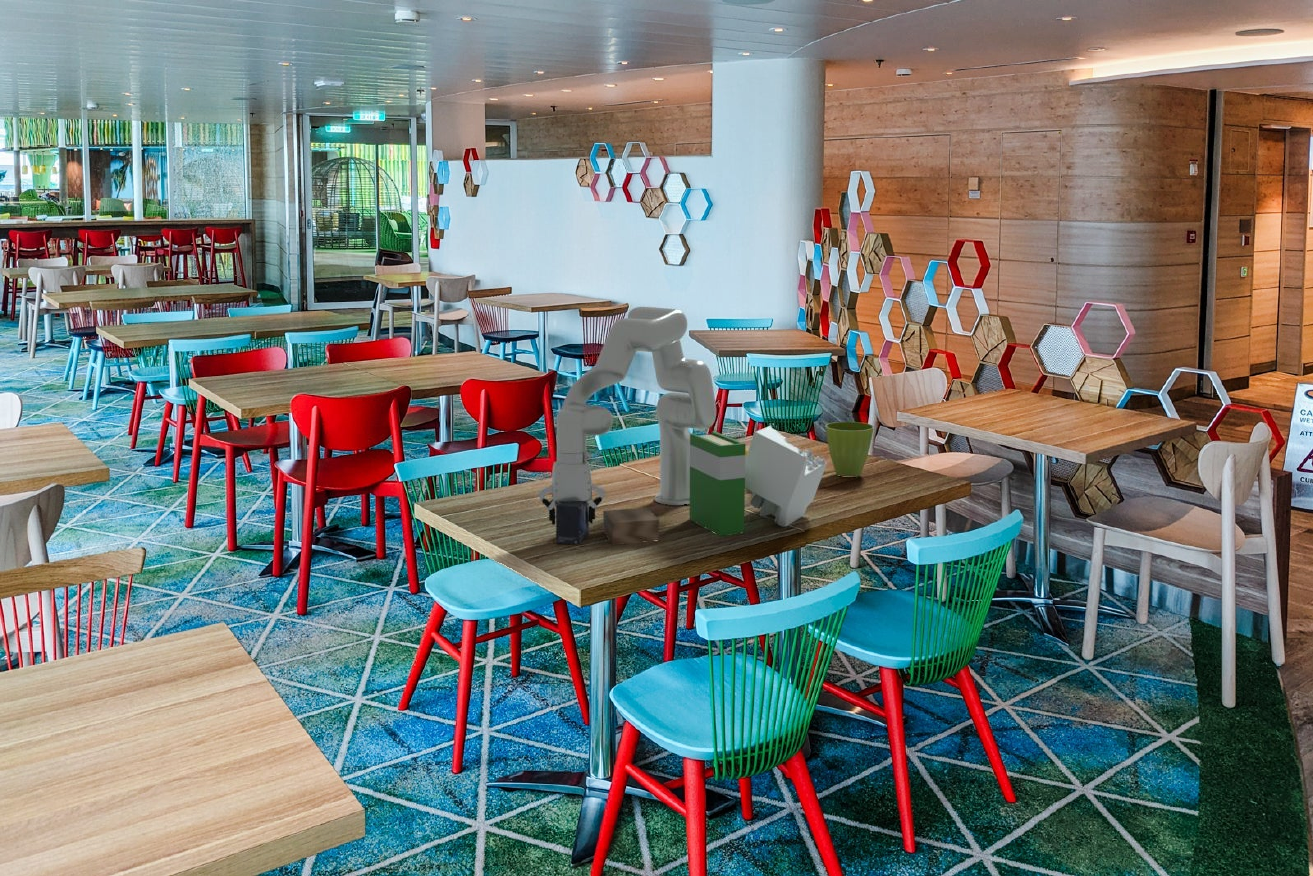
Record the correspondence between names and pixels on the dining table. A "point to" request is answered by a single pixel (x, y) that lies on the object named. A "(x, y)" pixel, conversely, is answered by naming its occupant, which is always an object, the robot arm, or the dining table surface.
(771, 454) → the white toy brick
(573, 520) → the small box
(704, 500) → the hardback book
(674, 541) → the dining table surface
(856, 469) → the flower pot
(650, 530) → the walnut block
